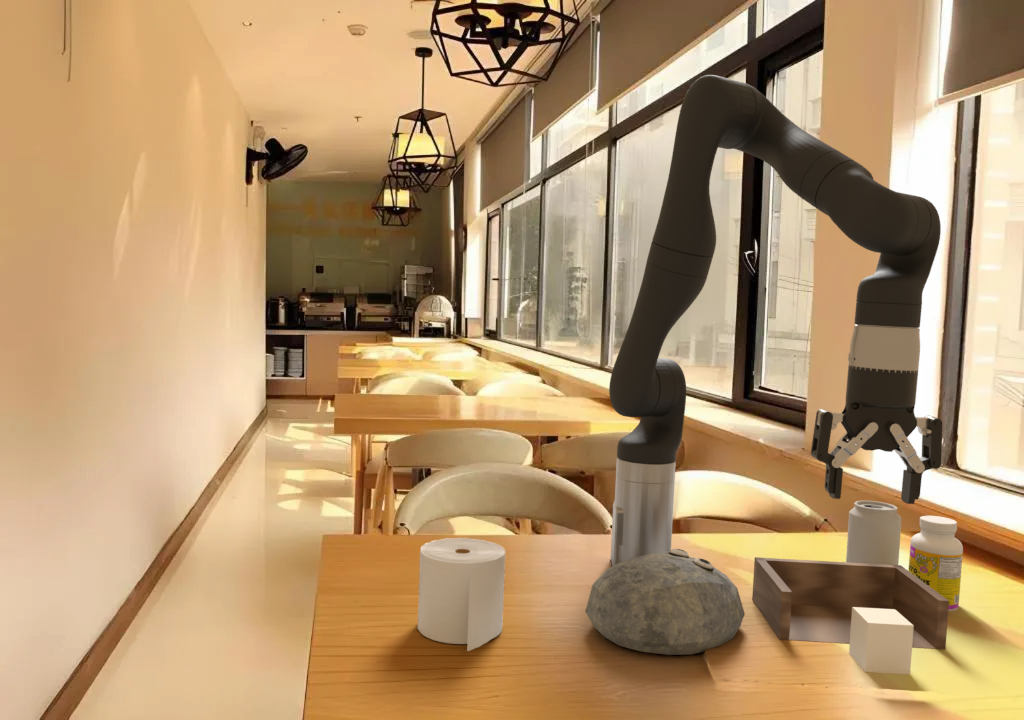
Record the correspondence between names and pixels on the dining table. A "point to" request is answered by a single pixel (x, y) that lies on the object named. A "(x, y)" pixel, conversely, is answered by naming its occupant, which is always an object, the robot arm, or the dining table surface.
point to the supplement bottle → (938, 557)
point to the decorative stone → (665, 604)
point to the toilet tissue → (461, 591)
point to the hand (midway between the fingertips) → (871, 499)
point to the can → (873, 533)
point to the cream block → (881, 640)
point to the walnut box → (843, 599)
